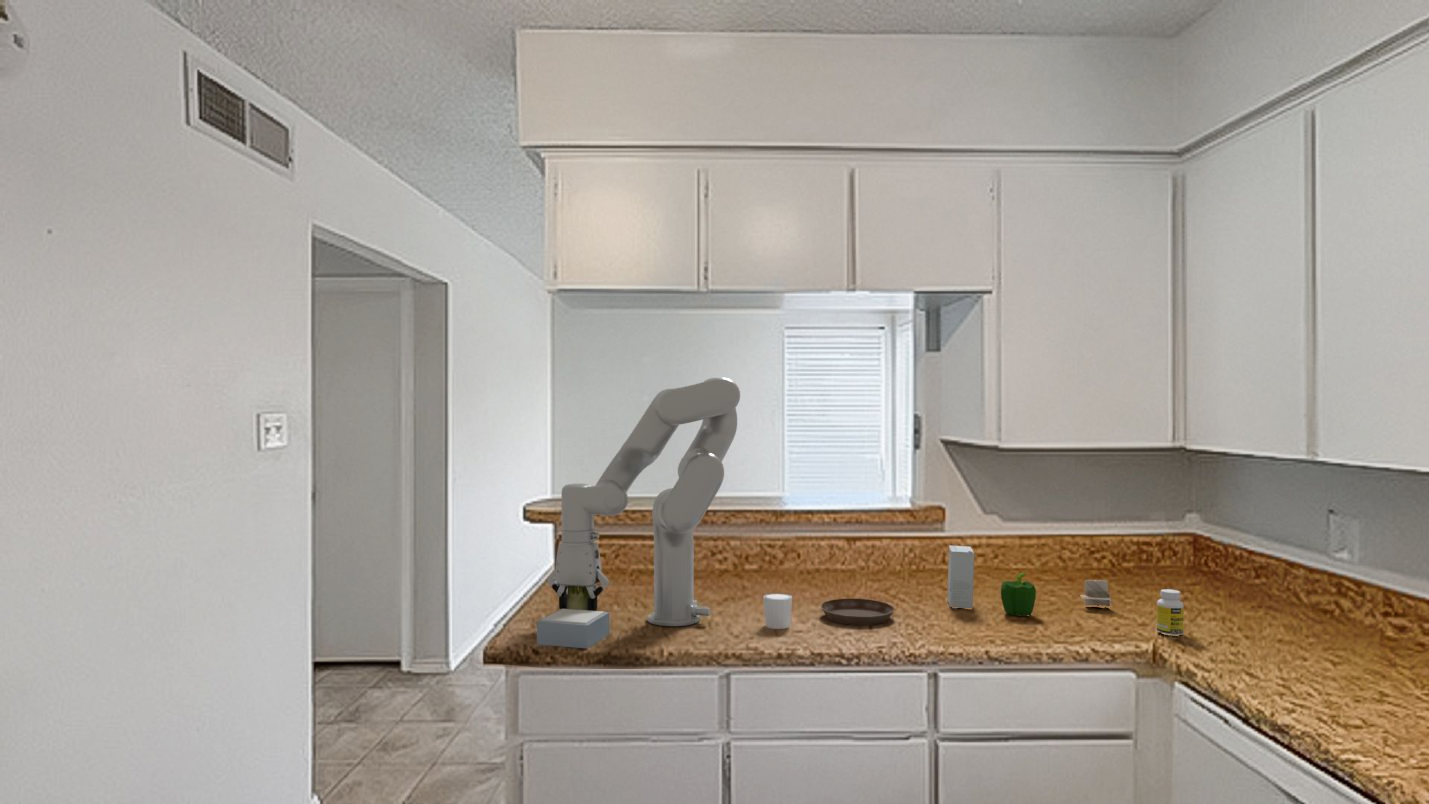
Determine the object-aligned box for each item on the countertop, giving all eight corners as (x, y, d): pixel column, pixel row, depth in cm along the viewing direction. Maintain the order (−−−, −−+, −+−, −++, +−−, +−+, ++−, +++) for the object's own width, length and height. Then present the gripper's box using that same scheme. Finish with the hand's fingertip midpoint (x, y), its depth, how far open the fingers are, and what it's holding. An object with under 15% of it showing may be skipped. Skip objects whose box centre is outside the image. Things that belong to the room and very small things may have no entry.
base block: (609, 634, 207) (609, 611, 207) (587, 648, 195) (587, 623, 195) (560, 630, 210) (560, 607, 210) (536, 644, 198) (536, 620, 198)
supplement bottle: (1171, 638, 203) (1171, 594, 203) (1151, 632, 208) (1151, 589, 208) (1188, 635, 206) (1189, 592, 206) (1168, 630, 211) (1168, 587, 211)
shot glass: (762, 622, 218) (762, 592, 218) (791, 622, 218) (791, 593, 218) (763, 629, 211) (763, 599, 211) (793, 629, 211) (793, 599, 211)
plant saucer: (905, 626, 215) (905, 613, 215) (832, 629, 212) (832, 616, 212) (879, 609, 232) (879, 597, 232) (812, 611, 230) (812, 599, 229)
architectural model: (1112, 613, 229) (1112, 583, 229) (1082, 612, 230) (1083, 582, 230) (1108, 610, 232) (1108, 580, 232) (1079, 609, 233) (1079, 579, 233)
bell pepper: (1018, 620, 220) (1018, 578, 220) (994, 612, 227) (994, 572, 227) (1044, 616, 223) (1044, 575, 223) (1019, 609, 231) (1019, 569, 231)
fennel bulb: (593, 626, 214) (593, 575, 214) (576, 630, 210) (576, 578, 210) (578, 622, 218) (578, 572, 218) (561, 625, 214) (561, 574, 214)
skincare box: (947, 601, 240) (947, 545, 239) (970, 602, 239) (970, 545, 238) (950, 609, 231) (950, 550, 231) (974, 609, 230) (974, 551, 230)
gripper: (618, 535, 215) (618, 612, 215) (551, 533, 220) (551, 607, 220) (606, 540, 208) (606, 619, 208) (536, 537, 213) (537, 614, 213)
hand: (578, 612), depth 214 cm, fingers closed on fennel bulb, 6 cm apart
